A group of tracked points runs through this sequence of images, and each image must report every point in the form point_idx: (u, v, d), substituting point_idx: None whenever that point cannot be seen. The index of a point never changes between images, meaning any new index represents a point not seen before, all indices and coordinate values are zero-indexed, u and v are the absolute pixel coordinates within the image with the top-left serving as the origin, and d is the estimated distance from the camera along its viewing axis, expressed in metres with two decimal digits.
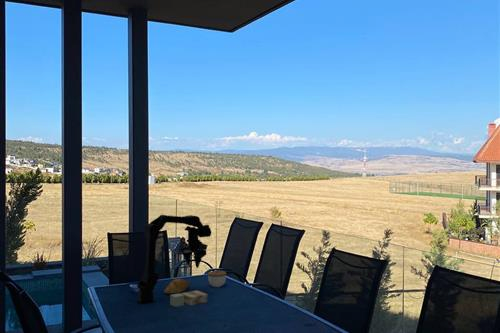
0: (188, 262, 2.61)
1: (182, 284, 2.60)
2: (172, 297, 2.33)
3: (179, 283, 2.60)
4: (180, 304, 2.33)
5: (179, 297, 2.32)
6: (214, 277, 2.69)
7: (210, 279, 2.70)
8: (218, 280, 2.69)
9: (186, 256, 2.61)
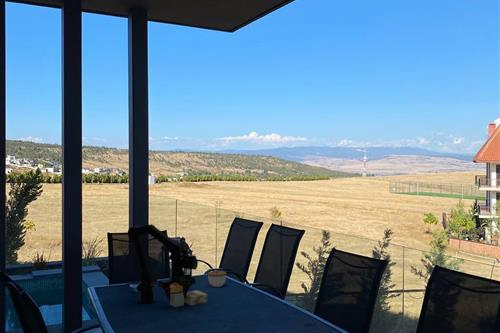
0: (183, 294, 2.37)
1: None
2: (172, 297, 2.33)
3: None
4: (180, 304, 2.33)
5: (179, 297, 2.32)
6: (214, 277, 2.69)
7: (210, 279, 2.70)
8: (218, 280, 2.69)
9: (183, 287, 2.39)
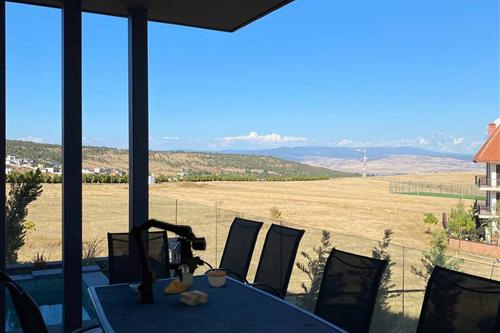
0: None
1: (182, 284, 2.60)
2: None
3: (179, 283, 2.60)
4: (189, 282, 2.36)
5: (188, 275, 2.35)
6: (214, 277, 2.69)
7: (210, 279, 2.70)
8: (218, 280, 2.69)
9: (189, 270, 2.40)
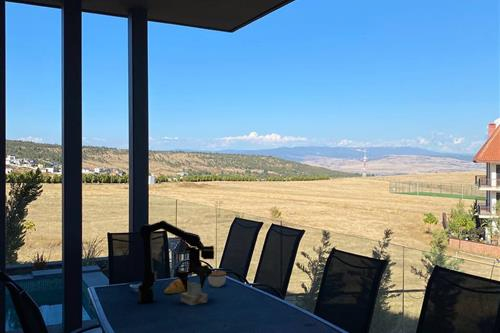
0: (201, 285, 2.44)
1: (182, 284, 2.59)
2: (189, 286, 2.39)
3: (179, 283, 2.59)
4: (197, 293, 2.39)
5: (196, 286, 2.39)
6: (214, 277, 2.69)
7: (210, 279, 2.70)
8: (218, 280, 2.69)
9: (200, 278, 2.45)
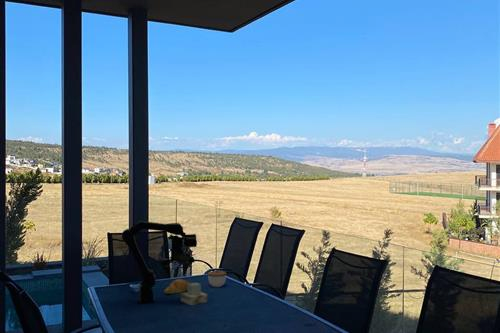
0: (183, 273, 2.47)
1: (182, 284, 2.59)
2: (189, 286, 2.39)
3: (179, 283, 2.59)
4: (197, 293, 2.39)
5: (196, 286, 2.39)
6: (214, 277, 2.69)
7: (210, 279, 2.70)
8: (218, 280, 2.69)
9: (183, 266, 2.48)
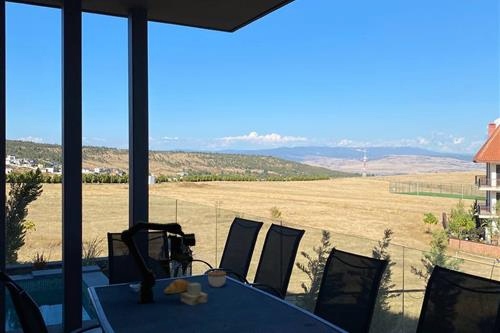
0: (182, 272, 2.47)
1: (183, 284, 2.59)
2: (189, 286, 2.39)
3: (180, 283, 2.59)
4: (197, 293, 2.39)
5: (196, 286, 2.39)
6: (214, 277, 2.69)
7: (210, 279, 2.70)
8: (218, 280, 2.69)
9: (182, 266, 2.48)
